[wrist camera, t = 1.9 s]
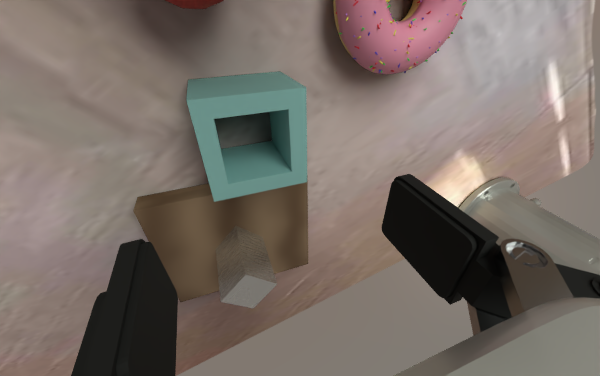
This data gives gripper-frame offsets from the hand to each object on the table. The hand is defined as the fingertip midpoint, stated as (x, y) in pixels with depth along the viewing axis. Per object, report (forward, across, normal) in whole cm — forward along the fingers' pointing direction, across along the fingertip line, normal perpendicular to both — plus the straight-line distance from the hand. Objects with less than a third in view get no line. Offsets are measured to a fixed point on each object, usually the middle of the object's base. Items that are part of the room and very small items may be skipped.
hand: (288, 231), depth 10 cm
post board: (+14, +2, +12) cm, 19 cm away
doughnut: (+15, -13, -8) cm, 21 cm away
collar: (+14, -1, 0) cm, 14 cm away
